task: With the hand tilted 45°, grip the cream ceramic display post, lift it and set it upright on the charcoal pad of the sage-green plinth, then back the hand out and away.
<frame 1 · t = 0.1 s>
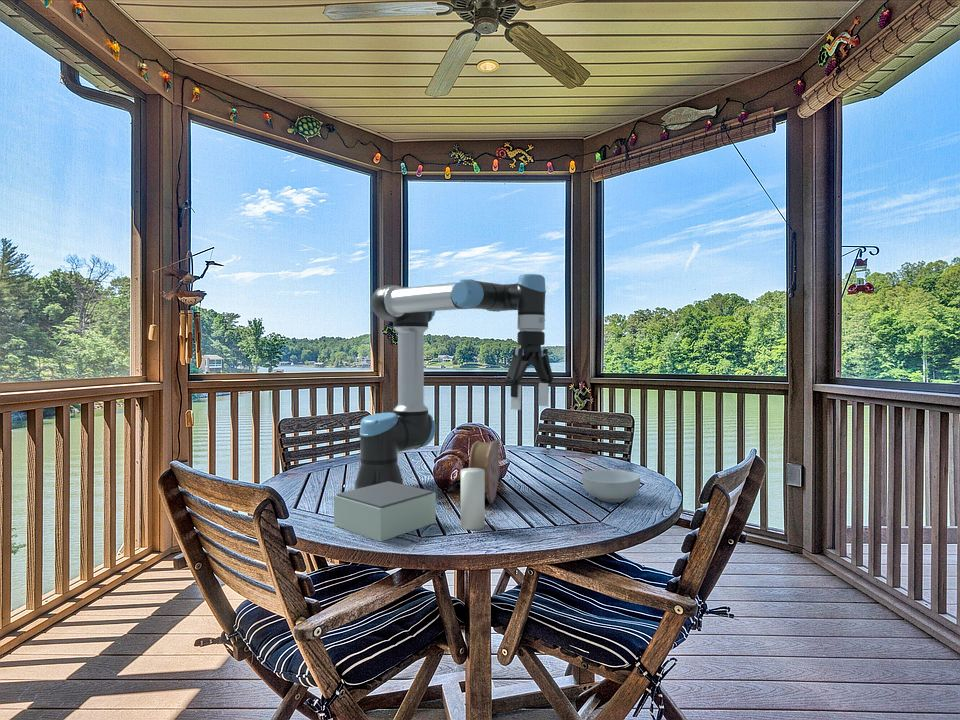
hand: (530, 407, 153), 28 cm above the table, tool pointing down, fingers open, 13 cm apart
display post: (472, 526, 138), on the table
cereal bowl: (610, 499, 162), on the table
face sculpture: (485, 498, 164), on the table
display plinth: (385, 524, 139), on the table
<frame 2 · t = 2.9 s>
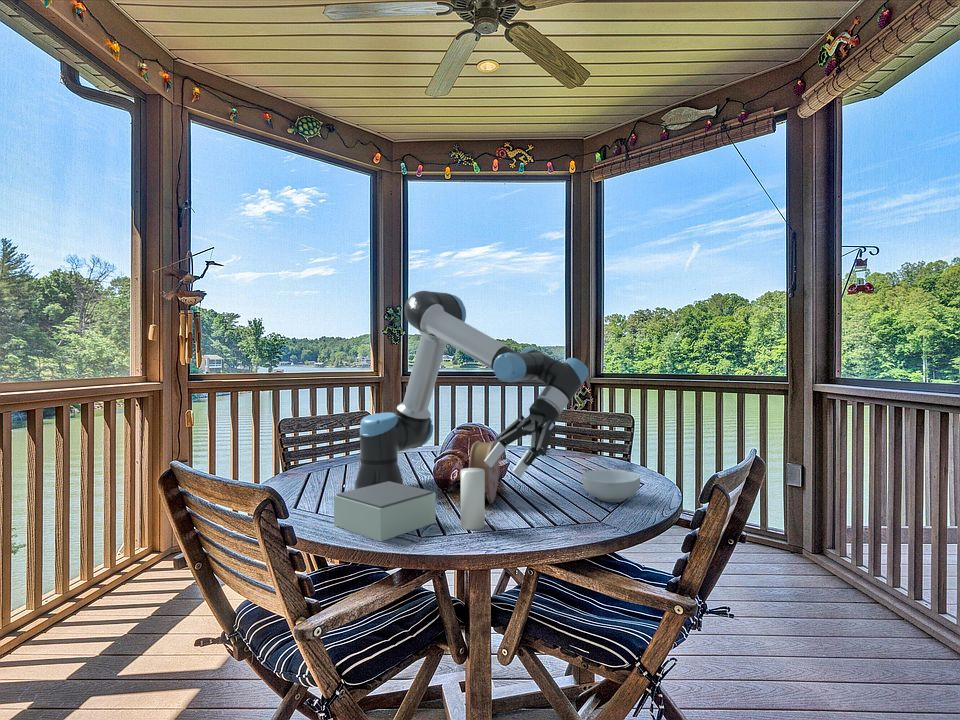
hand: (501, 469, 141), 14 cm above the table, tool tilted 45°, fingers open, 13 cm apart
nothing on the table moved.
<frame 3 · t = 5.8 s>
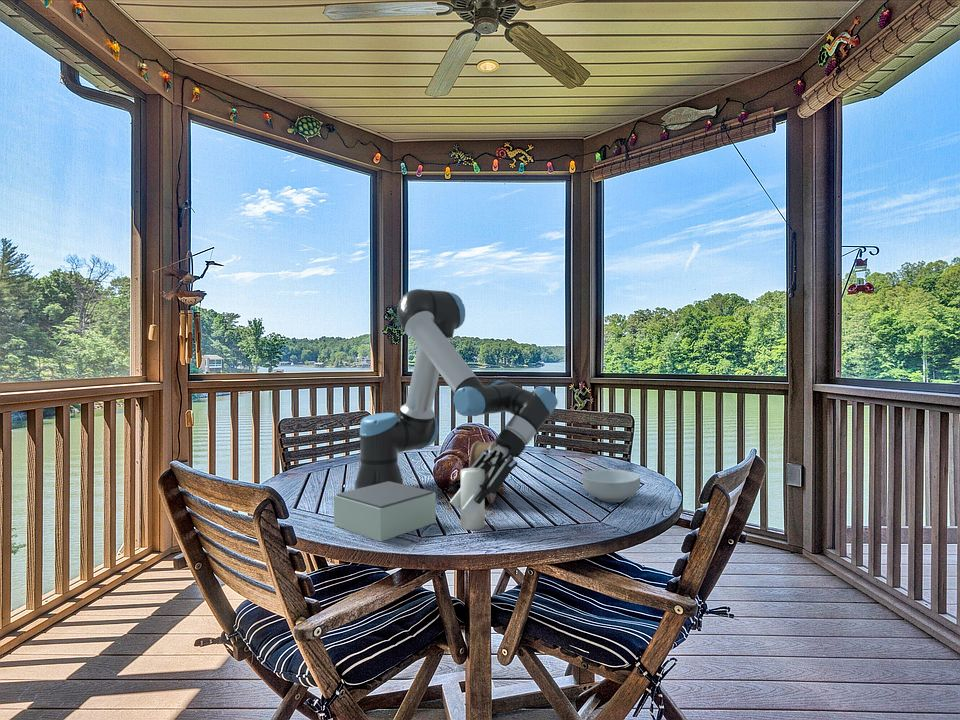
hand: (459, 508, 136), 5 cm above the table, tool tilted 45°, fingers closed on display post, 6 cm apart
display post: (472, 526, 138), on the table, touching gripper
everything else where it was.
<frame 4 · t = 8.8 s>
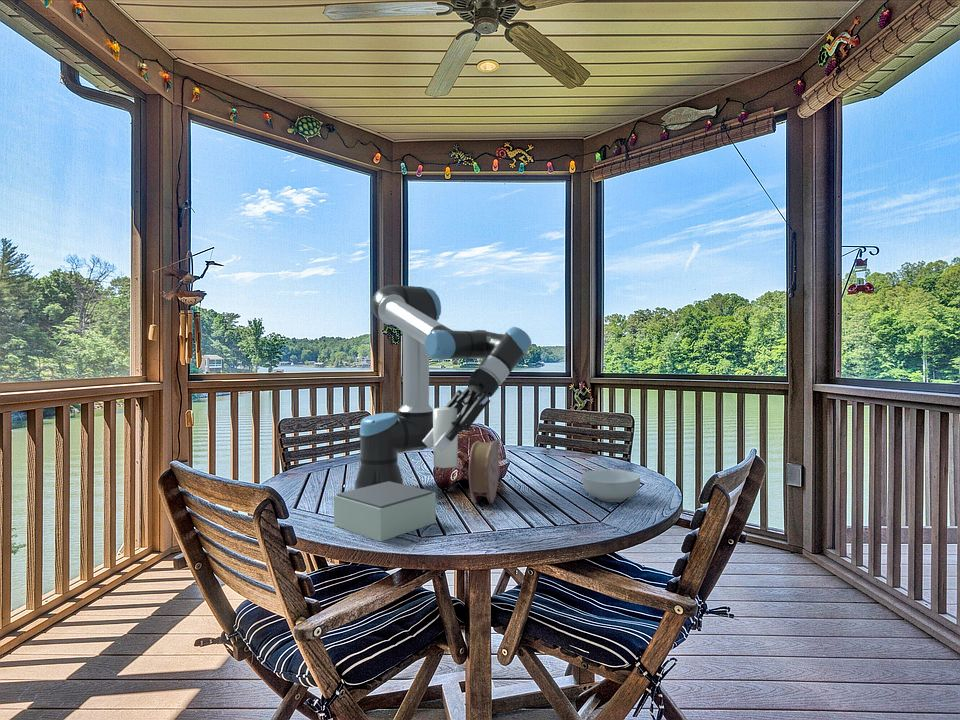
hand: (432, 447, 135), 20 cm above the table, tool tilted 45°, fingers closed on display post, 6 cm apart
display post: (445, 464, 137), point 16 cm above the table, touching gripper
everything else where it was.
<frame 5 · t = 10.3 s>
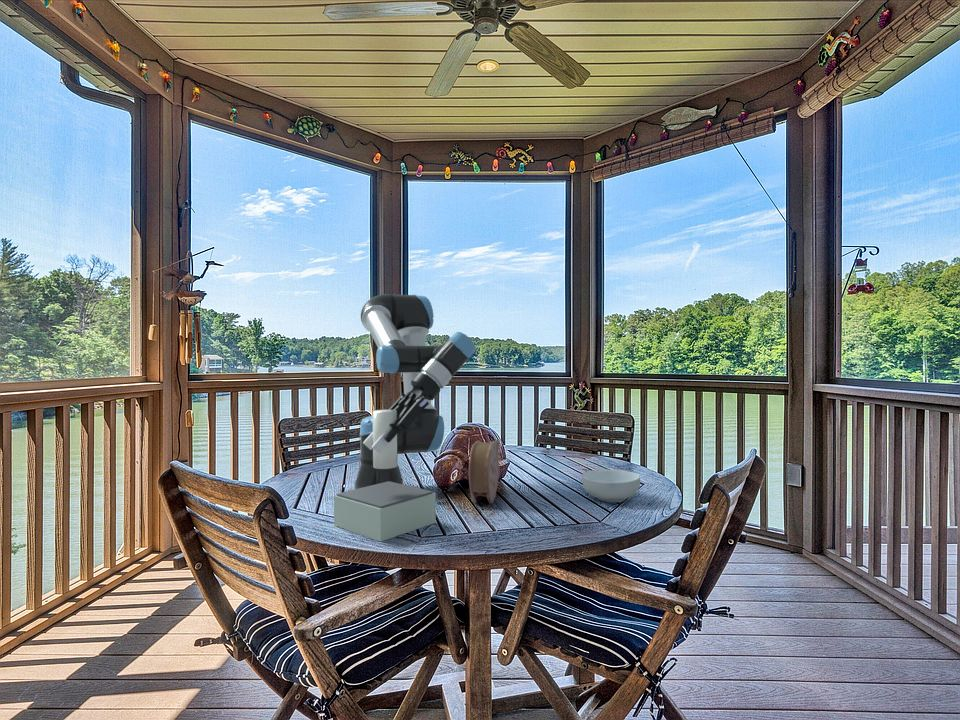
hand: (371, 448, 137), 20 cm above the table, tool tilted 45°, fingers closed on display post, 6 cm apart
display post: (385, 466, 139), point 15 cm above the table, touching gripper
everything else where it was.
when the fingers open (14 cm above the table, at t = 11.7 s): display post drops 1 cm, resting on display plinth.
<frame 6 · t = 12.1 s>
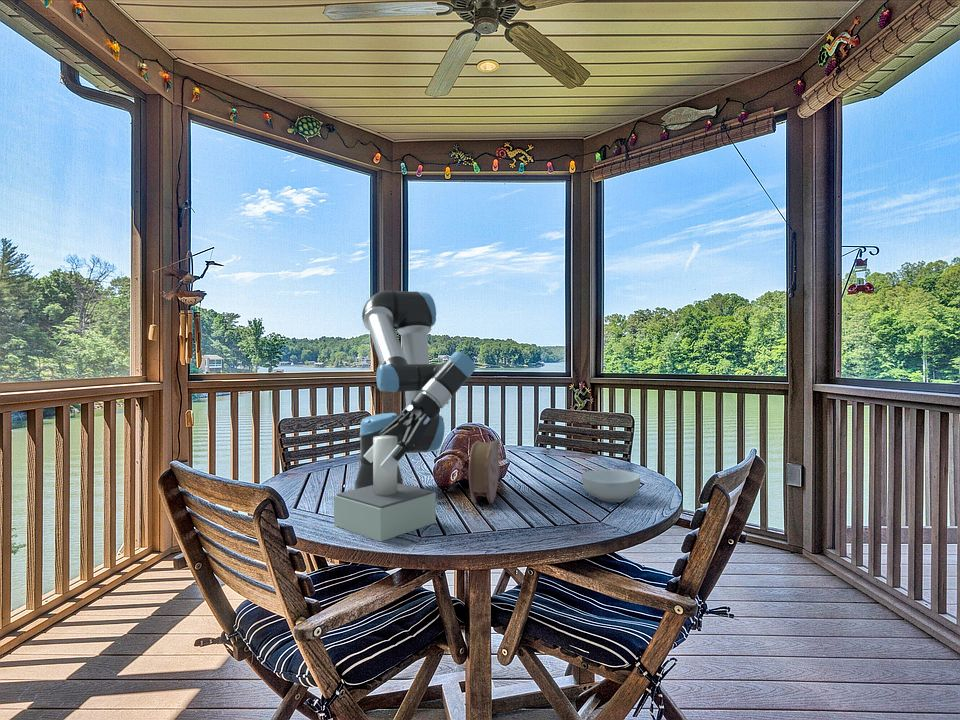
hand: (375, 464, 138), 15 cm above the table, tool tilted 45°, fingers open, 12 cm apart
display post: (385, 492, 139), point 8 cm above the table, touching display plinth
everything else where it was.
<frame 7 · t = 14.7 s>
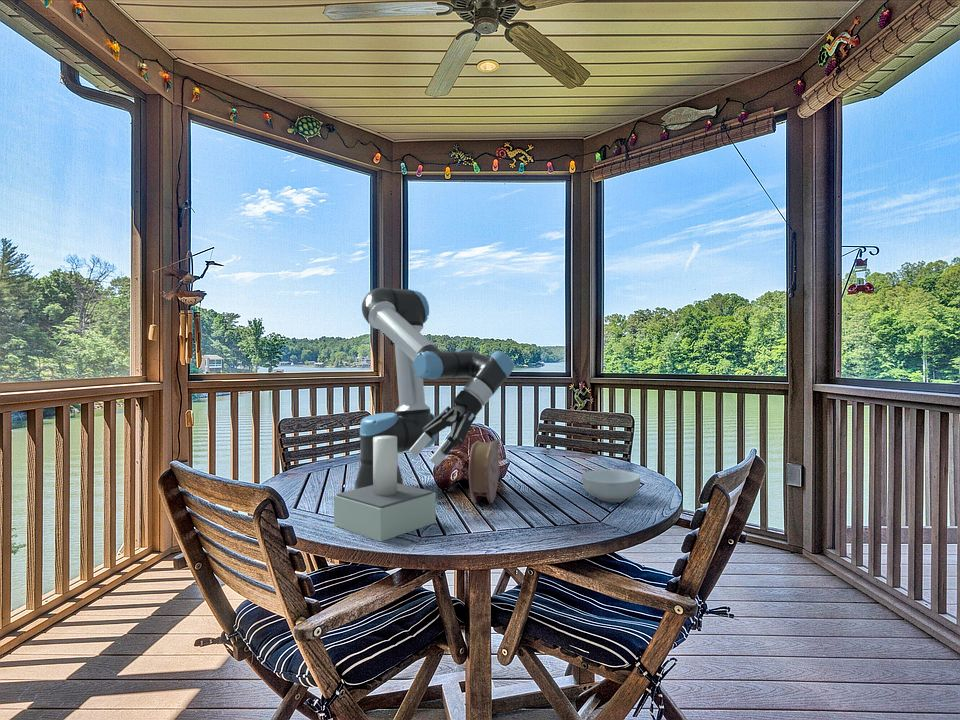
hand: (422, 458, 144), 16 cm above the table, tool tilted 45°, fingers open, 13 cm apart
nothing on the table moved.
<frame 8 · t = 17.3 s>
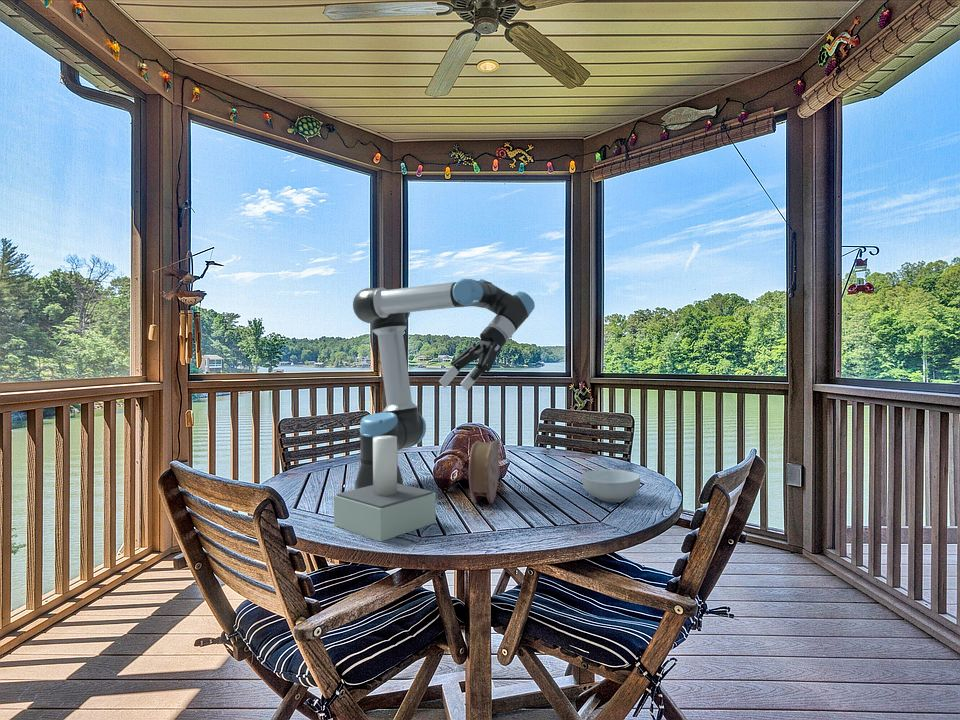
hand: (452, 386, 157), 34 cm above the table, tool tilted 45°, fingers open, 13 cm apart
nothing on the table moved.
at the end: display post inside the target area on the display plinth (0.1 cm from its centre), point 8.0 cm above the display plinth's base; display post tilted 0°; the gripper is holding nothing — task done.
